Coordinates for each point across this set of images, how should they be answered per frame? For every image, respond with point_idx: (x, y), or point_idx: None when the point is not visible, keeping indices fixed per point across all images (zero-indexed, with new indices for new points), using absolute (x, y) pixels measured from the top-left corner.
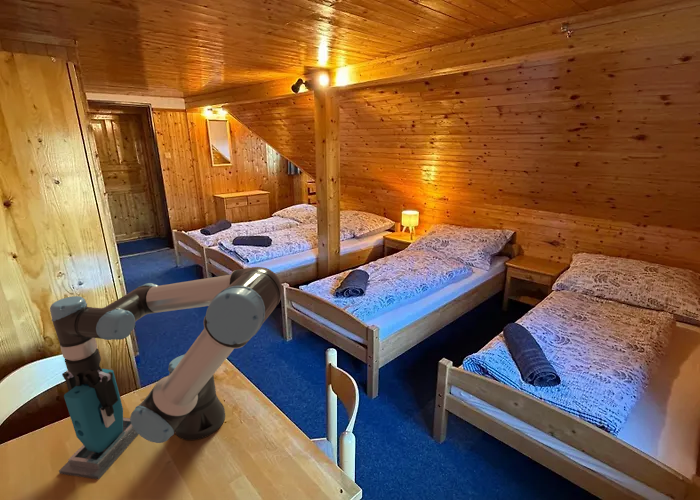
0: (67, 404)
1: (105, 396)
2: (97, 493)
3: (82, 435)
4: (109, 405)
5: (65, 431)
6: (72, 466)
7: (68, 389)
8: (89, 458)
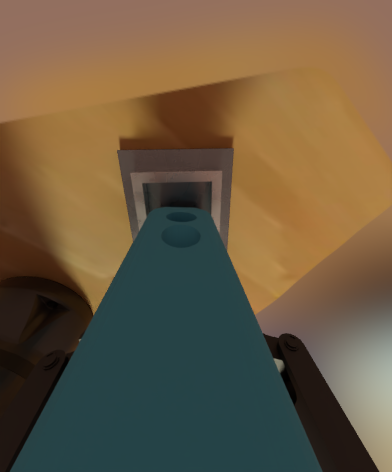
0: (245, 368)
1: (6, 457)
2: (84, 110)
3: (179, 215)
4: (45, 363)
5: (303, 248)
6: (209, 166)
7: (374, 470)
8: (186, 194)
